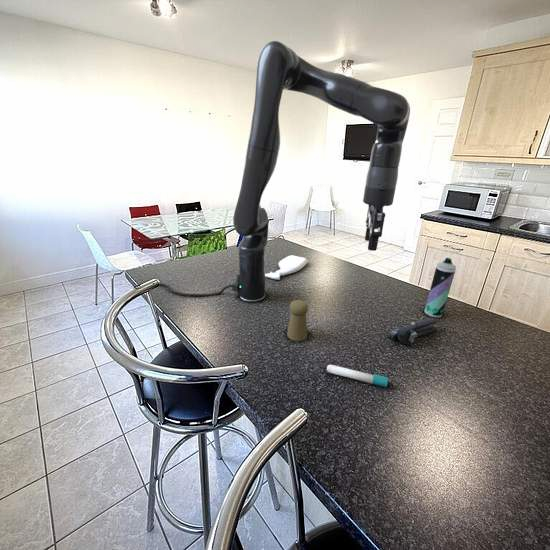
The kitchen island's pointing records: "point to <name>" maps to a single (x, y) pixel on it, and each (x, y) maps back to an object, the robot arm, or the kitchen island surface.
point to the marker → (358, 375)
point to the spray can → (440, 288)
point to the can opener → (412, 331)
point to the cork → (298, 321)
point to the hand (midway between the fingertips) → (370, 245)
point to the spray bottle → (288, 266)
